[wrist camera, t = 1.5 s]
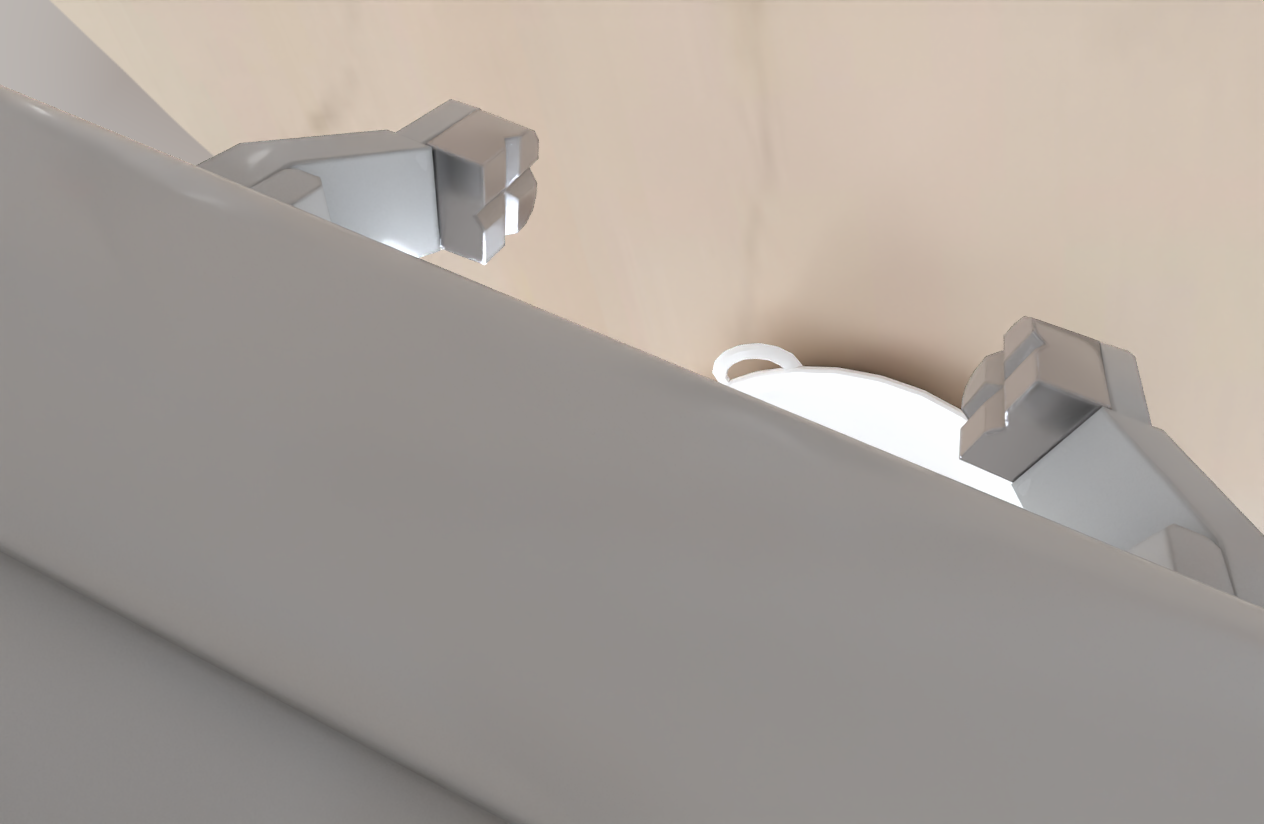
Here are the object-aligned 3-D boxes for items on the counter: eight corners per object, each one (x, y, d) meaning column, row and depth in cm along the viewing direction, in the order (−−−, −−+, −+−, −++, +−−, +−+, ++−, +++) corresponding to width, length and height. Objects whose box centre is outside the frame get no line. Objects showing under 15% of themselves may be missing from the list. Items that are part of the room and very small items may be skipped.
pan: (604, 356, 53) (582, 387, 50) (972, 251, 36) (972, 288, 33) (758, 598, 68) (748, 633, 65) (1071, 604, 51) (1076, 651, 48)
